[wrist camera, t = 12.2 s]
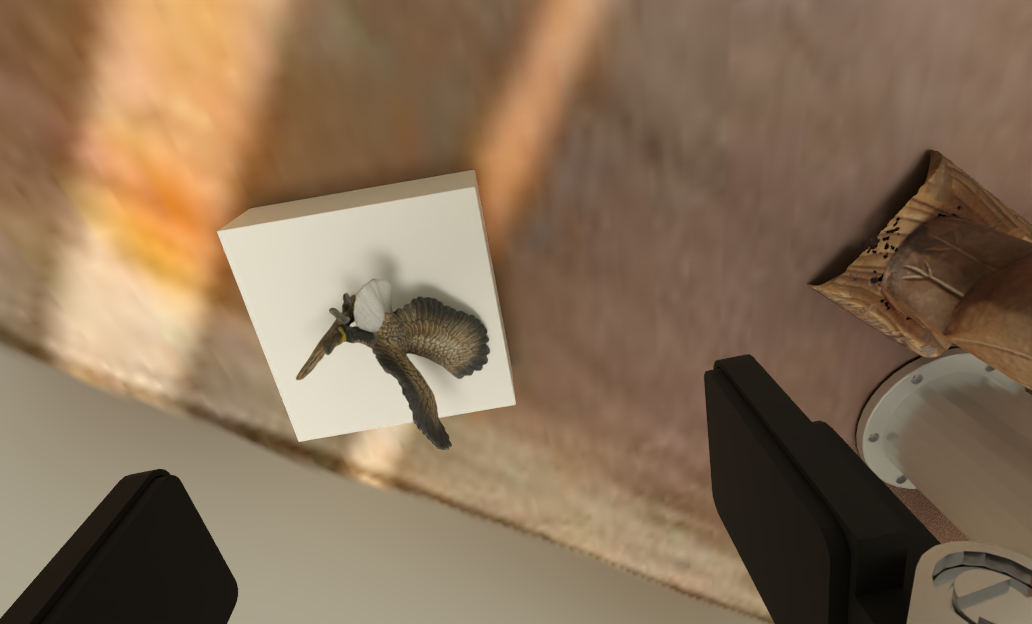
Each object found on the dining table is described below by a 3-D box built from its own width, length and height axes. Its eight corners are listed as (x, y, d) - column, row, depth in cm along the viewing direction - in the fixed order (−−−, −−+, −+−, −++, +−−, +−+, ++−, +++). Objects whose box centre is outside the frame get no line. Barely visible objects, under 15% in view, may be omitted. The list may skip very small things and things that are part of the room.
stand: (474, 169, 35) (474, 186, 31) (511, 365, 41) (516, 404, 37) (250, 208, 35) (216, 231, 31) (318, 398, 41) (298, 441, 37)
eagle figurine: (307, 382, 34) (444, 453, 34) (280, 374, 27) (452, 463, 27) (373, 271, 35) (502, 341, 36) (364, 237, 28) (524, 324, 29)
